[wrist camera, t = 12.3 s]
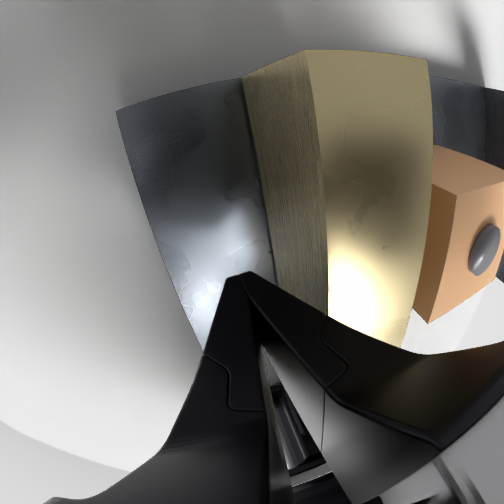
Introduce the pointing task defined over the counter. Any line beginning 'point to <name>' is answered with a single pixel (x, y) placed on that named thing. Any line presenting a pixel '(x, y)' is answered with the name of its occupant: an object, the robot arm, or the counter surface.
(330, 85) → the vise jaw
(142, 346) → the counter surface
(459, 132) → the vise bed
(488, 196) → the block
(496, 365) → the robot arm
